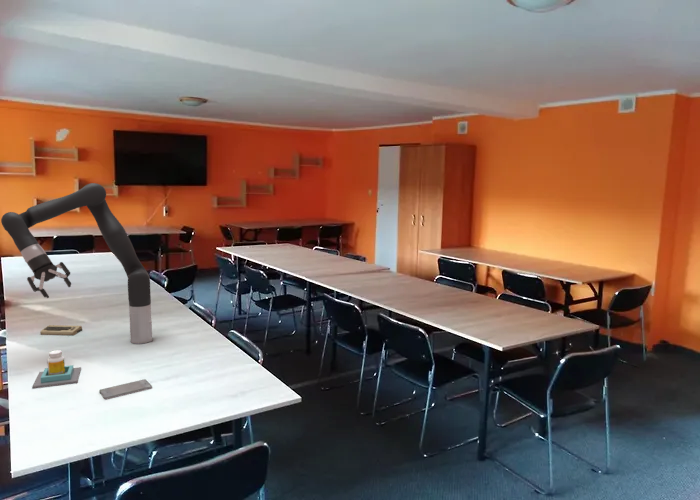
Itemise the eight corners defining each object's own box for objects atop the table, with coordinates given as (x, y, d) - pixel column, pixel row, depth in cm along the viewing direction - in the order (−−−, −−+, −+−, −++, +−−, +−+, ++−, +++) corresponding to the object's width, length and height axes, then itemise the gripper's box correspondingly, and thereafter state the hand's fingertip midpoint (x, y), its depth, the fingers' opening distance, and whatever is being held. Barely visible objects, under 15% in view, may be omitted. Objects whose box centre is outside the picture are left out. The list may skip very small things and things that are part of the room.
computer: (40, 335, 232) (39, 328, 231) (50, 330, 240) (50, 323, 239) (73, 336, 232) (72, 329, 231) (82, 331, 240) (82, 324, 239)
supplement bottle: (46, 376, 183) (44, 351, 182) (62, 372, 187) (60, 348, 186) (51, 380, 180) (49, 355, 178) (67, 376, 184) (65, 351, 182)
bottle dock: (81, 369, 193) (80, 362, 192) (77, 382, 180) (76, 375, 180) (39, 373, 187) (39, 366, 187) (32, 388, 175) (31, 381, 174)
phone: (99, 393, 173) (98, 389, 173) (145, 382, 184) (145, 378, 183) (104, 401, 167) (104, 397, 167) (152, 389, 177) (152, 386, 177)
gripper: (17, 264, 188) (41, 299, 189) (54, 247, 196) (77, 281, 197) (17, 268, 194) (40, 303, 195) (54, 252, 202) (76, 285, 203)
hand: (59, 292), depth 196 cm, fingers open, 8 cm apart
